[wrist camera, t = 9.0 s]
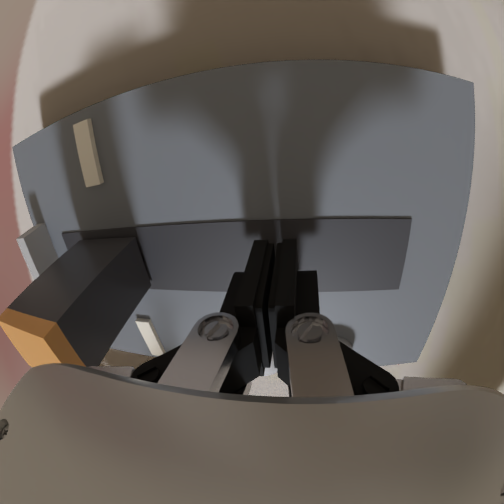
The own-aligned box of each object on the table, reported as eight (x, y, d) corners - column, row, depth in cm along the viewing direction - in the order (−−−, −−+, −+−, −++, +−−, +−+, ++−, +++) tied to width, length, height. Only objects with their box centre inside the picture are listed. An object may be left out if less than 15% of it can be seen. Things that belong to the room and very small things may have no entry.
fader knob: (135, 236, 12) (43, 338, 6) (151, 285, 13) (83, 390, 8) (79, 240, 13) (-4, 319, 7) (96, 282, 14) (29, 365, 8)
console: (441, 83, 9) (501, 83, 5) (406, 329, 17) (423, 386, 12) (44, 136, 13) (-11, 156, 9) (107, 319, 21) (79, 360, 17)
